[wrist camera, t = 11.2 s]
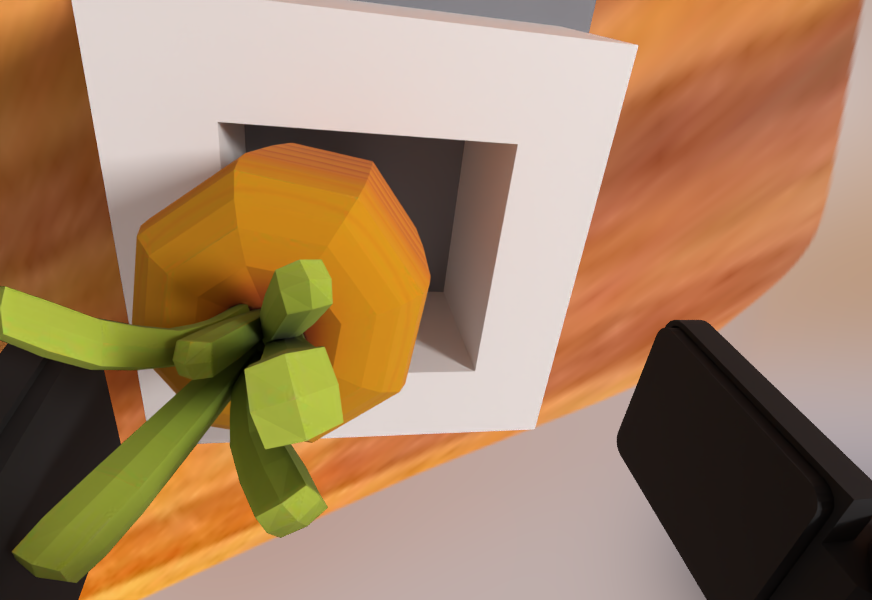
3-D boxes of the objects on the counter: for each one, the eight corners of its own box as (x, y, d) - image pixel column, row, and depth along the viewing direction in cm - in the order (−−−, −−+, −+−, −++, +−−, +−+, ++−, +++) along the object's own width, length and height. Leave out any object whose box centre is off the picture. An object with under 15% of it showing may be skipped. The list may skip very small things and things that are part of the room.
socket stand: (97, -121, 15) (-24, -169, 9) (589, -44, 18) (705, -49, 12) (168, 371, 22) (123, 495, 17) (501, 366, 25) (549, 469, 20)
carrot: (288, 280, 20) (8, 750, 6) (249, 134, 18) (-302, 291, 4) (428, 255, 20) (495, 666, 6) (402, 107, 18) (408, 167, 4)
